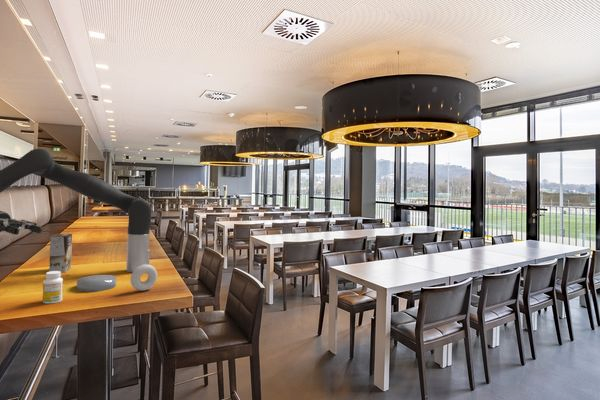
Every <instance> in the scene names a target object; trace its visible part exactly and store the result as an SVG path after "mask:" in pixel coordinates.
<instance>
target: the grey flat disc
mask: <svg viewBox="0 0 600 400" xmlns="http://www.w3.org/2000/svg"><path fill="white" fill-rule="evenodd" d="M116 286H117V276H115V275H111V274H94V275H88V276H84V277H79V278H77V279H76V290H77V291H78V292H87V293H88V292H91V293H96V292H102V291H107V290H111V289H114V288H115V287H116Z"/></svg>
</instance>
